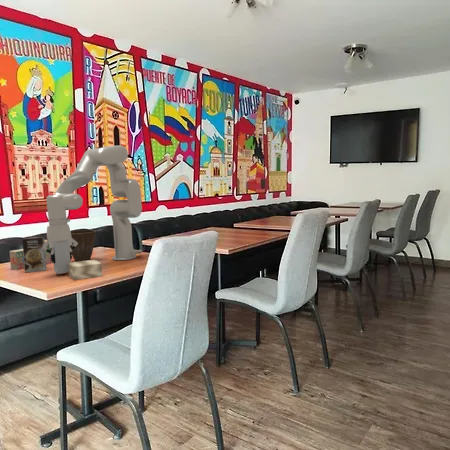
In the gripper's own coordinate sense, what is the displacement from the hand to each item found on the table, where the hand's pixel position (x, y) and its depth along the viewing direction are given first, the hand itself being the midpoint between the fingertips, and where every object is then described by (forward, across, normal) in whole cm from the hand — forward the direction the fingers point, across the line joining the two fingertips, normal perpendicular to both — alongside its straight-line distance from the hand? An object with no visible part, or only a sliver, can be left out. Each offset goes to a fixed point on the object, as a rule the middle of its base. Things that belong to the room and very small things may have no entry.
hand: (61, 261), depth 189 cm
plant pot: (+7, -15, -28) cm, 32 cm away
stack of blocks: (+7, +8, -35) cm, 36 cm away
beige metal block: (+6, -7, +10) cm, 14 cm away
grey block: (+5, 0, 0) cm, 5 cm away
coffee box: (+6, +9, -20) cm, 22 cm away
